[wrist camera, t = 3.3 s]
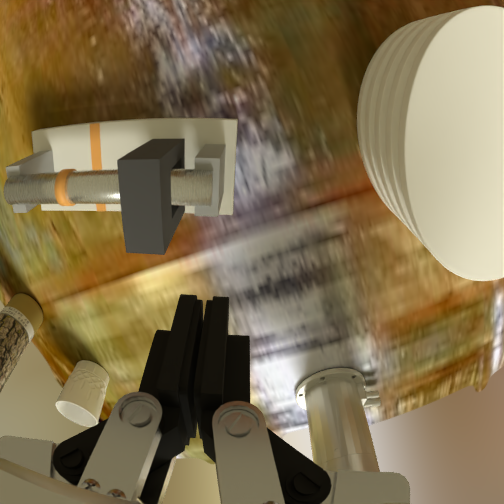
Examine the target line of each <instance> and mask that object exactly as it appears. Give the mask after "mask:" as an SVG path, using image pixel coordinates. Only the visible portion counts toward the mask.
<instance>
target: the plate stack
mask: <svg viewBox="0 0 504 504" xmlns="http://www.w3.org/2000/svg"><path fill="white" fill-rule="evenodd" d="M357 132H358V141H359V147H360V152H361V156H362V160H363V163H364V166H365V169H366V172H367V174H368V177H369V179H370V181H371V183H372V185H373V187H374V189H375V191H376V192H377V194H378V195H379V197H380V198H381V200H382V201H383V202H384V203H385V205H386V206H387V207H388V208H389V209H390V210H391V211H392V212H393V213H394V214H395V215H396V216H397V217H398V218H399V219H400V220H401V221H402V222H403V223H404V224H405V225H406V226H407V227H408V229H409V230H410V231H411V232H412V233H413V234H414V235H415V236H416V237H417V238H418V239H419V240H420V241H421V243H422V244H423V245H424V246H425V247H426V248H427V249H428V250H429V251H430V252H431V254H432V255H433V256H434V257H435V258H436V259H437V260H438V261H439V262H440V263H441V264H442V265H443V266H444V267H445V268H447V269H448V270H449V271H451V272H453V273H454V274H456V275H458V276H460V277H463V278H466V279H470V280H476V281H489V280H496V279H500V278H503V277H504V8H503V7H498V6H490V5H484V6H476V7H471V8H466V9H461V10H456V11H452V12H448V13H444V14H440V15H436V16H432V17H428V18H425V19H421V20H417V21H414V22H411V23H409V24H407V25H405V26H403V27H401V28H400V29H398V30H397V31H395V32H394V33H393V34H391V35H390V36H389V37H388V38H387V39H386V40H385V41H384V42H383V43H382V44H381V46H380V47H379V48H378V50H377V51H376V53H375V54H374V56H373V57H372V59H371V61H370V63H369V65H368V67H367V70H366V72H365V75H364V78H363V81H362V85H361V89H360V93H359V99H358V108H357Z"/></svg>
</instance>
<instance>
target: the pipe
mask: <svg viewBox="0 0 504 504" xmlns="http://www.w3.org/2000/svg"><path fill="white" fill-rule="evenodd" d="M58 173H59V172H47V173H34V174H22V175H17V176H10V177H9V178H8V179H7V180H6V183H5V186H4V196H5V199H6V201H7V203H8V204H10V205H26V204H59V203H58V202H57V200H56V197H55V190H54V188H55V180H56V177H57V175H58ZM64 191H65V197H66V199H67V201H68V202H69V203H70V204H120V193H119V181H118V169H105V170H80V171H71V172H70V173H69V174H68V175H67V177H66V180H65V186H64ZM212 202H213V170H195V169H171V205H182V206H208V207H212Z"/></svg>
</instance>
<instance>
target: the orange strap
mask: <svg viewBox="0 0 504 504" xmlns="http://www.w3.org/2000/svg"><path fill="white" fill-rule="evenodd" d="M90 144H91V159H92V170H102V161H101V144H100V123H94V124H90ZM71 171H77V170H76V169H63V170H61V171H60V172H59V173H58V175H57V177H56V180H55V188H54V190H55V197H56V200H57V202H58V203H59V205H61V206H74V205H75V204H70V203H69V202H68V201H67V199H66V197H65V191H64V186H65V180H66V177H67V175H68V174H69V173H70V172H71ZM96 208H97V211H106V204H96Z"/></svg>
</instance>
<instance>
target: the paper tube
mask: <svg viewBox="0 0 504 504" xmlns="http://www.w3.org/2000/svg"><path fill="white" fill-rule="evenodd" d="M42 322H43V313H42V310H41V308H40V306H39V305H38V303H37V302H36V301H35V300H34V299H33V298H31V297H30V296H28V295H26V294H23V293H18V294H15V295H14V296H13V297H12V299H11V300H10V301H9V302H8V304H7V305H6V306H5V307H4V308H3V310H2V311H1V312H0V393H1V391H2V389H3V387H4V385H5V384H6V382H7V380H8V378H9V376H10V374H11V373H12V371H13V369H14V368H15V366H16V364H17V362H18V361H19V359H20V357H21V355H22V354H23V352H24V351H25V349H26V347H27V346H28V344H29V342H30V341H31V339H32V338H33V336H34V334H35V333H36V331H37V330H38V328H39V327H40V325H41V324H42Z"/></svg>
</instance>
